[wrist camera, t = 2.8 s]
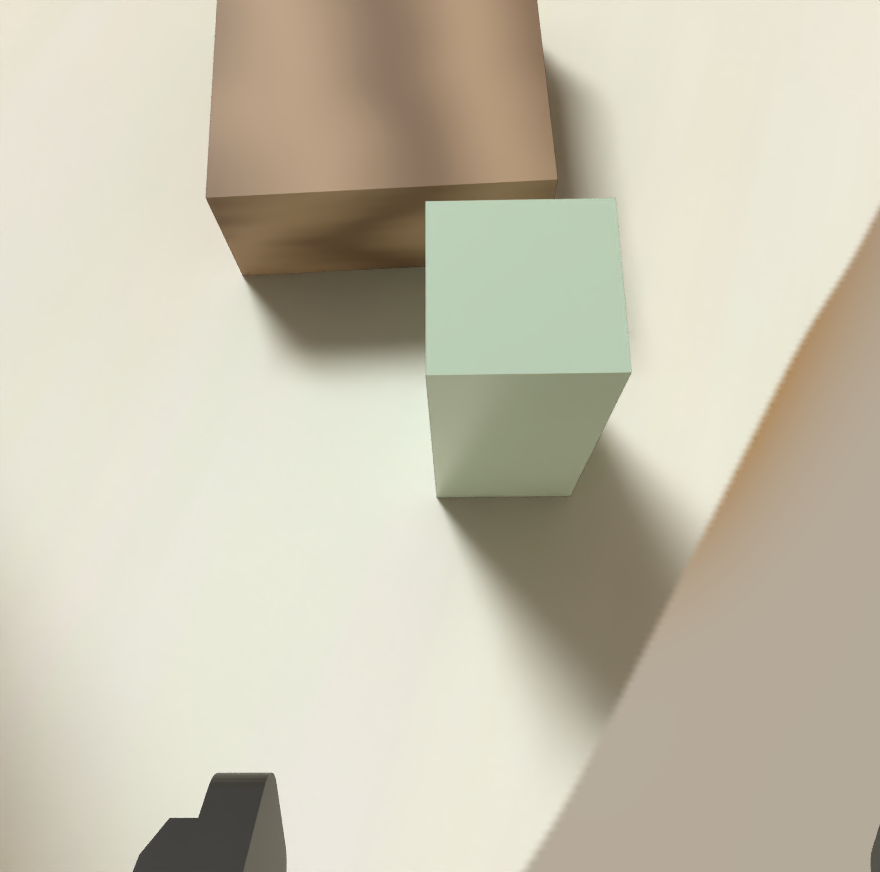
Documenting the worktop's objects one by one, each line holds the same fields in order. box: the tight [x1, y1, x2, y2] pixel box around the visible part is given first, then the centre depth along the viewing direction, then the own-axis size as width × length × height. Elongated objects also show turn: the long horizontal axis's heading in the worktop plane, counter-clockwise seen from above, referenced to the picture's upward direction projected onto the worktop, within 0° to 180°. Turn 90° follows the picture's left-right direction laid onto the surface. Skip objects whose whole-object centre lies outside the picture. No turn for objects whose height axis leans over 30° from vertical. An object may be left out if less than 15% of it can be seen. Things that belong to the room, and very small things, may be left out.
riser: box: [206, 0, 558, 276], centre depth 30 cm, size 11×11×5 cm
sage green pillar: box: [426, 198, 632, 497], centre depth 23 cm, size 4×4×10 cm
